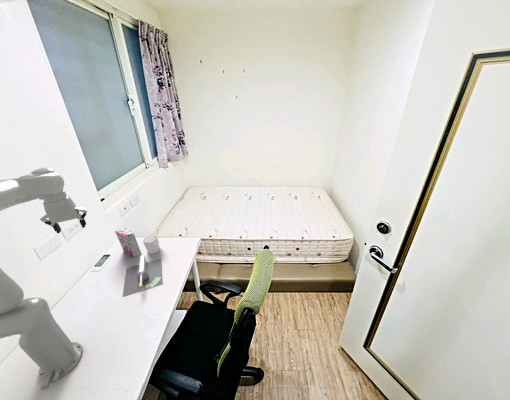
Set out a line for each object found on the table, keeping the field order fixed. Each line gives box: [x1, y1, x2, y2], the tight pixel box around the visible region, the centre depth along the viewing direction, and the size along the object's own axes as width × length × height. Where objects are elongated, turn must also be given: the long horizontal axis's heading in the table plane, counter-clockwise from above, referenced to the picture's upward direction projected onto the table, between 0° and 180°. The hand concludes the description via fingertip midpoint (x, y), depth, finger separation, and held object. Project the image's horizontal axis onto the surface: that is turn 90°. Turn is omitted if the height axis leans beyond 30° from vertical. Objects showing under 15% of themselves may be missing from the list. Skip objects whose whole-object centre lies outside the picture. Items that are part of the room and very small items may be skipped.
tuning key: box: [136, 254, 149, 287], centre depth 114 cm, size 22×5×4 cm, turn 23°
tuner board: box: [122, 258, 164, 298], centre depth 115 cm, size 20×18×1 cm
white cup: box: [142, 233, 161, 255], centre depth 131 cm, size 8×8×10 cm
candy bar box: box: [114, 226, 142, 258], centre depth 128 cm, size 11×5×16 cm, turn 58°
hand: (72, 229), depth 103 cm, fingers open, 9 cm apart
